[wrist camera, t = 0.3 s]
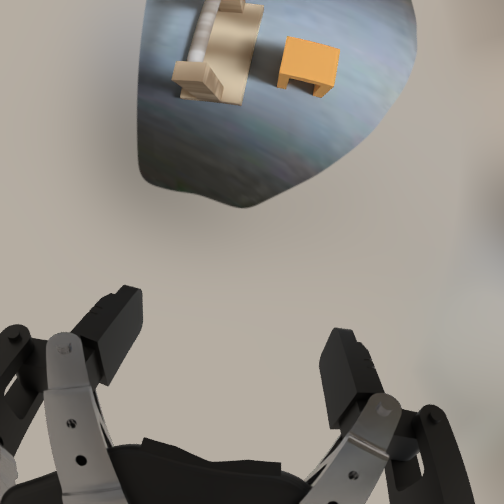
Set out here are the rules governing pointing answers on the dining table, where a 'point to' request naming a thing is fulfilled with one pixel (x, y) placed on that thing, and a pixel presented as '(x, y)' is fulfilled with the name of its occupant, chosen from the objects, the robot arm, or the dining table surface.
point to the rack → (220, 52)
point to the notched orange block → (309, 64)
